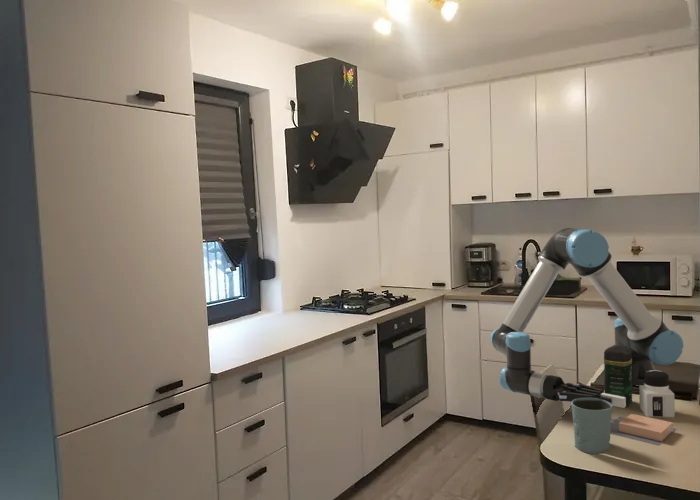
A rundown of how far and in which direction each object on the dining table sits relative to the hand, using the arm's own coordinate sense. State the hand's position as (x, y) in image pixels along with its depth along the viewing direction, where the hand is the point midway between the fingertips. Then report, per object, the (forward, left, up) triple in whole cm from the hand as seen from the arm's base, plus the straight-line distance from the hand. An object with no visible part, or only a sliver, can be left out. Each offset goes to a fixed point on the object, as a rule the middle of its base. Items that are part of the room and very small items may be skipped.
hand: (624, 402), depth 165 cm
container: (-18, +3, -8) cm, 19 cm away
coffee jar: (-20, -9, -8) cm, 23 cm away
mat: (-1, +3, -8) cm, 9 cm away
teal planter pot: (+16, -2, -8) cm, 19 cm away
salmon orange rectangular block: (-1, 0, -6) cm, 6 cm away
